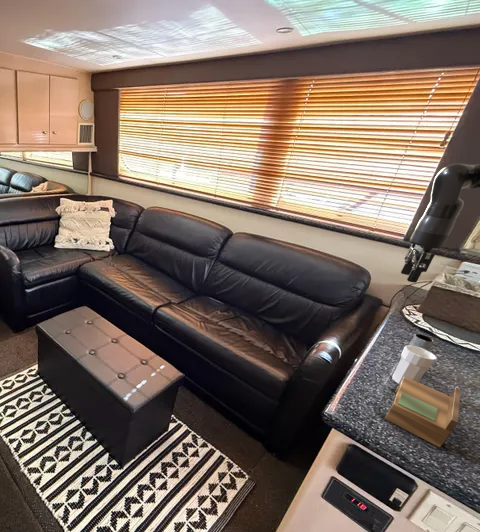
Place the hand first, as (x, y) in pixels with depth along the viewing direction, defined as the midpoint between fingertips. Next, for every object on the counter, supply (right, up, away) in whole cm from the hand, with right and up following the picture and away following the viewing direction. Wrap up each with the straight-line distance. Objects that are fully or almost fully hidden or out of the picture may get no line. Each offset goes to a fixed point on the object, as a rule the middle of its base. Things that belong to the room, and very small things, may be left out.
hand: (407, 277), depth 105 cm
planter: (+1, -29, 0) cm, 29 cm away
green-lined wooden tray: (-21, -36, -22) cm, 47 cm away
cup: (-11, -31, -9) cm, 35 cm away
